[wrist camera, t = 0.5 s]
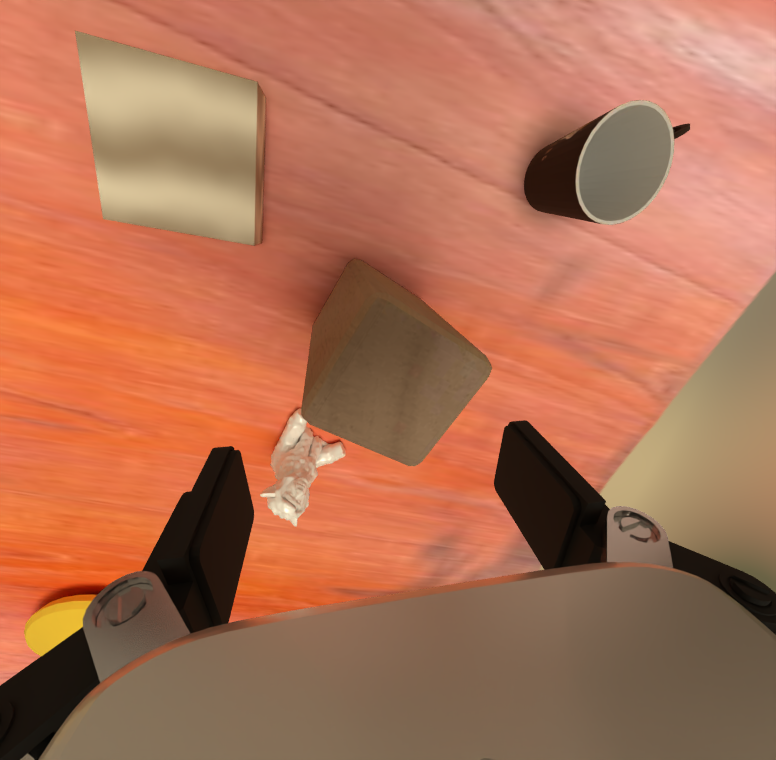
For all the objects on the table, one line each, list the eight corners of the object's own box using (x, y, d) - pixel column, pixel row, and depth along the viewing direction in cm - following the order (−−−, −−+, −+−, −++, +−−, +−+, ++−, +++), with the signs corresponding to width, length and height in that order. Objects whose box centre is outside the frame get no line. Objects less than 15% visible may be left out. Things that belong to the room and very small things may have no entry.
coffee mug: (508, 223, 37) (564, 224, 29) (521, 129, 34) (591, 97, 25) (601, 223, 39) (681, 224, 30) (623, 133, 35) (723, 104, 26)
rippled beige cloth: (108, 55, 27) (74, 30, 23) (265, 98, 29) (257, 81, 26) (128, 218, 32) (103, 218, 28) (261, 242, 34) (254, 245, 31)
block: (308, 330, 39) (293, 424, 21) (352, 253, 36) (376, 288, 18) (380, 368, 43) (417, 475, 25) (424, 301, 40) (503, 368, 22)
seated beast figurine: (349, 446, 47) (355, 512, 36) (303, 480, 48) (297, 554, 38) (301, 403, 43) (292, 464, 32) (253, 442, 44) (229, 512, 34)
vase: (23, 586, 49) (-22, 640, 42) (144, 575, 52) (118, 625, 45) (58, 647, 55) (24, 701, 49) (163, 634, 58) (144, 685, 52)
